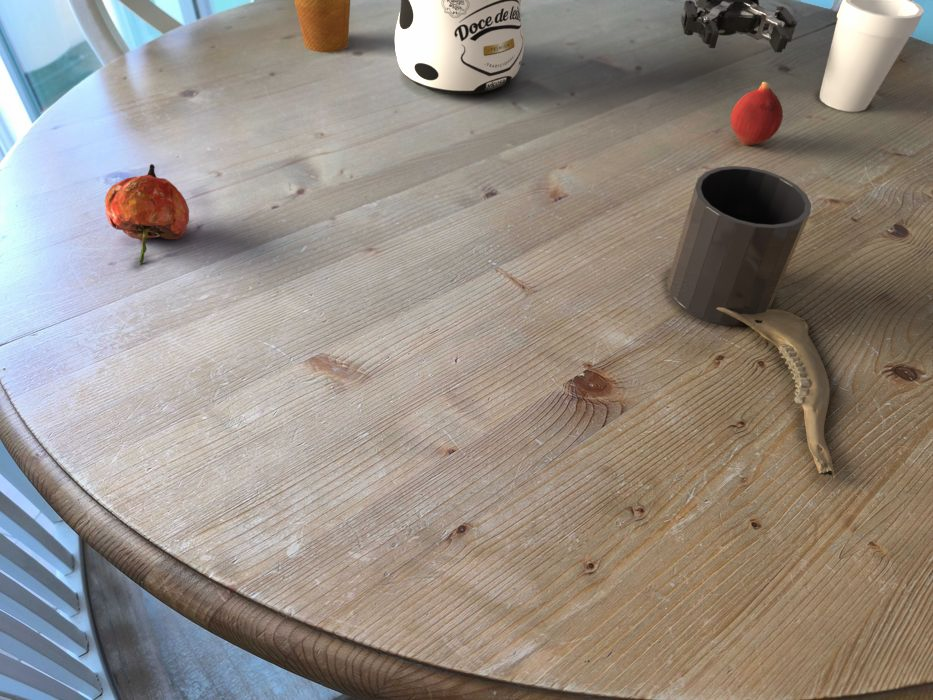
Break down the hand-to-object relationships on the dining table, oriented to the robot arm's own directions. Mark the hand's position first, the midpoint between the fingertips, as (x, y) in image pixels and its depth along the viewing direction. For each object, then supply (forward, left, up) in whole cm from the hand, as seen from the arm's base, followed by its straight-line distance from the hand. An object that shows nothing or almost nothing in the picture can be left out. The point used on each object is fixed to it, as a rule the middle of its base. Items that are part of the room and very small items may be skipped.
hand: (747, 42), depth 95 cm
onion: (0, +11, -8) cm, 14 cm away
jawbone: (+8, +53, -8) cm, 54 cm away
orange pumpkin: (+64, +39, -8) cm, 76 cm away
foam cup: (-16, -3, -8) cm, 18 cm away
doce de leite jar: (+37, -3, -8) cm, 38 cm away
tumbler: (+9, +41, -8) cm, 43 cm away
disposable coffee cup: (+57, -11, -8) cm, 59 cm away
